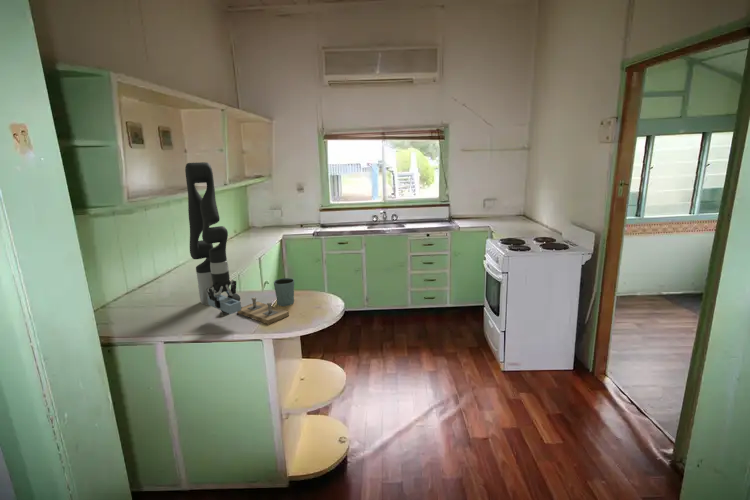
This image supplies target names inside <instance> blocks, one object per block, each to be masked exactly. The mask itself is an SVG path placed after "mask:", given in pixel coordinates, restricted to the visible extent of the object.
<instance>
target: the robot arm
mask: <svg viewBox="0 0 750 500" xmlns="http://www.w3.org/2000/svg"><path fill="white" fill-rule="evenodd" d="M184 171H185V180H186V188H187V190H186V191H187V202H188V205H187V207H188V208H187V209H188V210H187V211H188V223H189V255H190V257H191V259H193V260H201V259H205V260H204V261H202V262H201V263H199V264H197V265H196V266H195V272H196V279H197V288H198V294H199V299H200V304H201V305H204V306H206V305H207V306H210V305H209V304H208V297H209V298H210V300H213V301H215V306H216V307H217V308H220V300H219V297H220V296H221V295H222V293H224V292H225V294H227V295H226V297H229V298H232V295H233V294H235V293H237V281H236V280H233V279H232V280H230V279H231V277H230V271H229V264H228V260H227V259H228V258H227V243H228V238H229V237H228V236H229V235H228V234H229V232H228V229H227V228H226V227H225V226H224V225H219V226H213V225H216V224H217V223H219V222H220V219H221V217H220V215H219V210H218V205H217V200H216V191H215V190H216V189H215V188H216V187H215V184H214V182H215V181H214V180H215V179H214V175H213V174H214V173H213V169H212V166H211V164H210V163H209V162H206V161H205V162H187V163H186V164H185V169H184ZM205 183H206V190H205V193H204V195H203V197H202V196H201V194H200V193H199V192H198V189H197V188H196V185H195V184H205ZM210 226H213V227H210ZM200 236H201V238H202V239H201V240H200ZM217 243H219V244H218V245H217V246H214V245H213V244H217ZM232 299H233V298H232ZM217 308H216V309H217Z"/></svg>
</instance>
